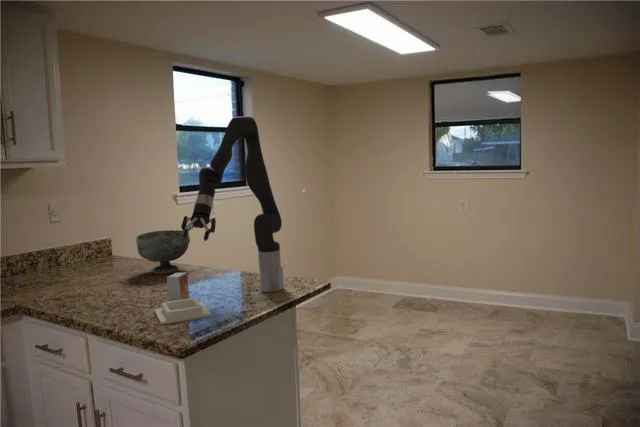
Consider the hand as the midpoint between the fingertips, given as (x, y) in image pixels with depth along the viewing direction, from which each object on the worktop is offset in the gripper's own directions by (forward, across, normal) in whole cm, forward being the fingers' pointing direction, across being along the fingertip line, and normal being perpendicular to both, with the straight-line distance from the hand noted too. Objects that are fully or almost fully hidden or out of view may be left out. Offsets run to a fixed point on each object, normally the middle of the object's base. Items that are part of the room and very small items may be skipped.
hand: (195, 239), depth 226 cm
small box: (+25, -3, +7) cm, 26 cm away
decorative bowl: (-6, -29, +51) cm, 59 cm away
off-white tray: (+36, +5, -9) cm, 38 cm away
